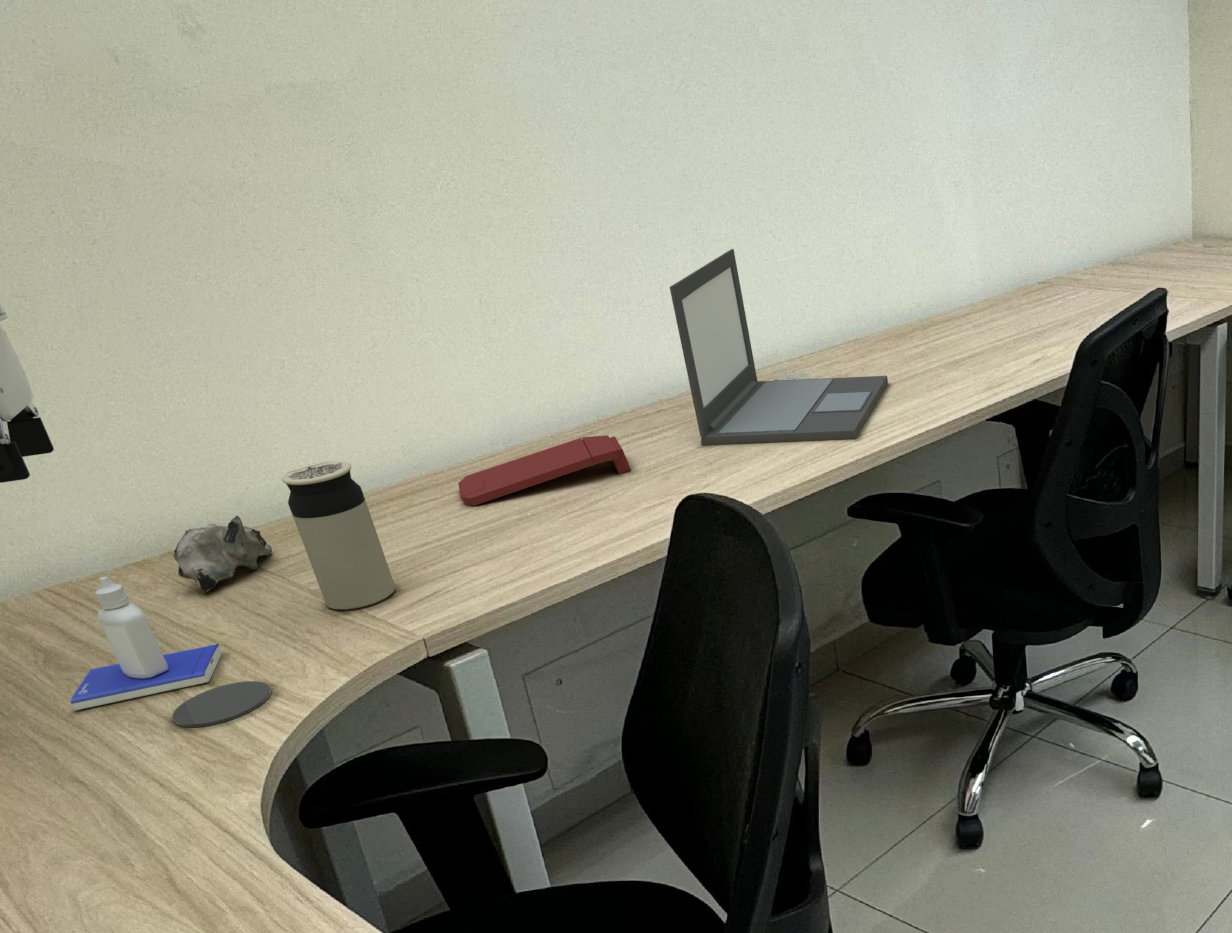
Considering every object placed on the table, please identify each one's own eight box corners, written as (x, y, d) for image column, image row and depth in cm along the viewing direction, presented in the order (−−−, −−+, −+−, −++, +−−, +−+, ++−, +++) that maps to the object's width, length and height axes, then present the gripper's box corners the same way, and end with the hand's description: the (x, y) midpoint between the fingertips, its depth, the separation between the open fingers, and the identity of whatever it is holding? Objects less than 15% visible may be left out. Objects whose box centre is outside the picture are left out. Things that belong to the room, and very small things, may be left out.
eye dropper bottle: (121, 687, 129) (76, 592, 124) (123, 667, 133) (80, 575, 128) (169, 674, 132) (127, 580, 126) (170, 655, 136) (129, 564, 131)
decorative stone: (199, 554, 165) (193, 490, 161) (277, 556, 169) (272, 493, 165) (167, 603, 152) (159, 534, 148) (252, 604, 156) (246, 537, 152)
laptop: (855, 439, 203) (832, 279, 191) (700, 446, 203) (667, 286, 191) (888, 383, 235) (869, 242, 223) (753, 389, 235) (728, 249, 223)
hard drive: (68, 700, 127) (203, 672, 132) (90, 667, 134) (217, 641, 139) (74, 712, 128) (208, 683, 133) (96, 679, 134) (222, 653, 139)
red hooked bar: (475, 528, 182) (633, 473, 191) (461, 501, 179) (621, 446, 189) (470, 504, 191) (621, 453, 200) (457, 478, 189) (610, 427, 198)
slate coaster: (167, 736, 122) (166, 733, 122) (180, 699, 130) (178, 696, 129) (267, 711, 126) (266, 708, 126) (274, 676, 134) (273, 673, 133)
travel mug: (403, 596, 152) (359, 469, 144) (334, 617, 147) (285, 487, 139) (387, 579, 157) (345, 455, 149) (321, 598, 152) (273, 471, 144)
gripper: (-67, 299, 122) (2, 450, 129) (-129, 330, 108) (-48, 498, 116) (24, 290, 125) (86, 439, 133) (-26, 320, 112) (47, 484, 119)
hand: (23, 467), depth 124 cm, fingers open, 9 cm apart
